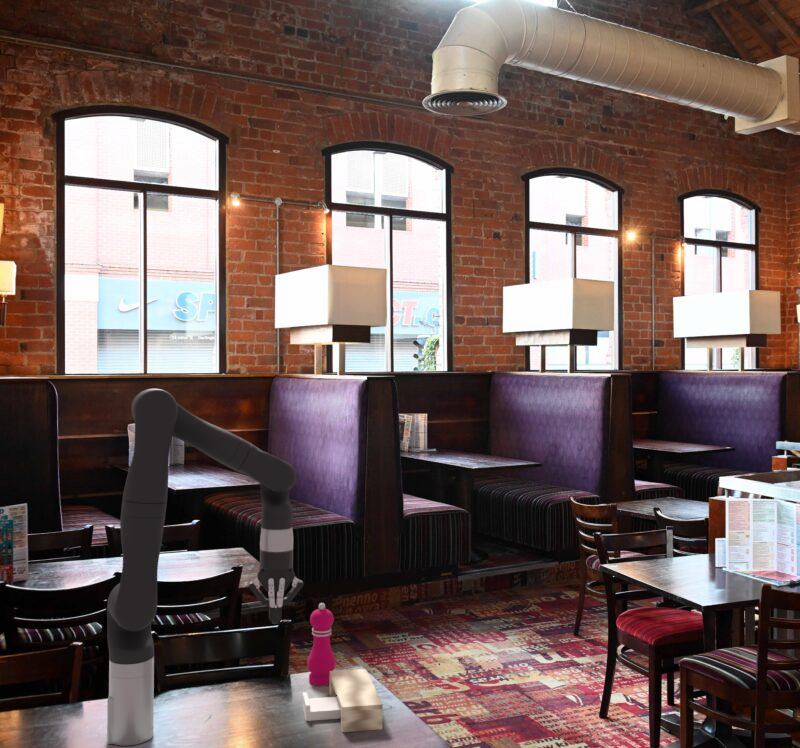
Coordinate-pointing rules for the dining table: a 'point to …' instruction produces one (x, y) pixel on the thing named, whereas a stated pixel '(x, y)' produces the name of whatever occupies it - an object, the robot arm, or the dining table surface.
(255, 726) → the dining table surface
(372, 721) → the overhang shelf
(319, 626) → the pepper mill
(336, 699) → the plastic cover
